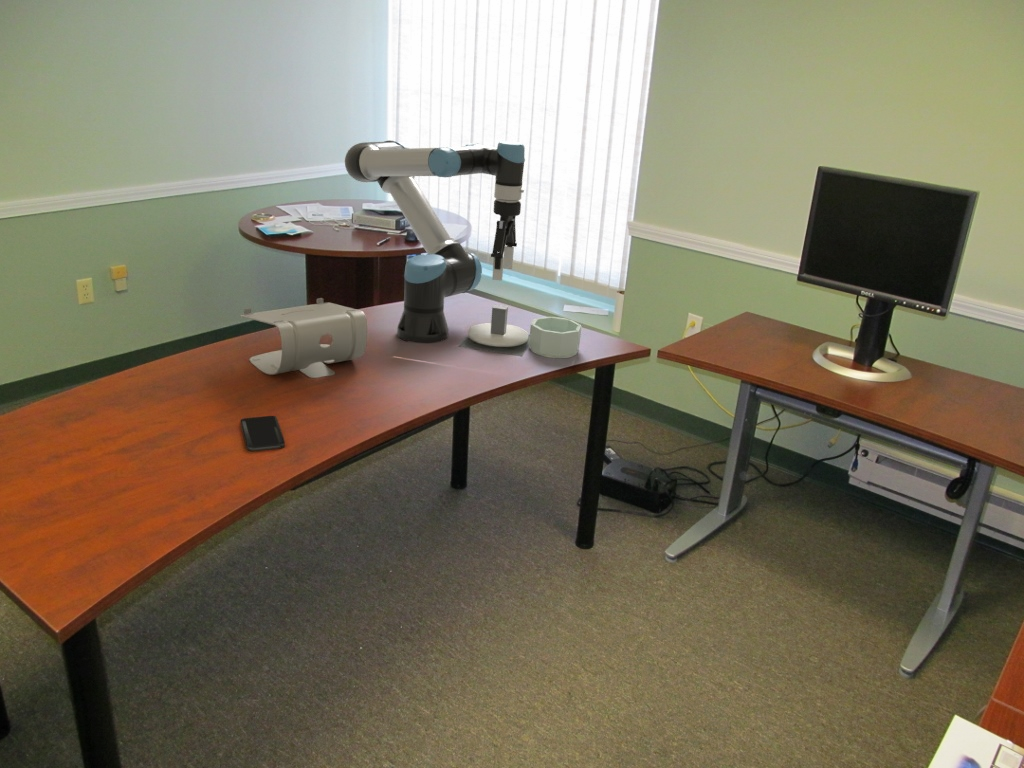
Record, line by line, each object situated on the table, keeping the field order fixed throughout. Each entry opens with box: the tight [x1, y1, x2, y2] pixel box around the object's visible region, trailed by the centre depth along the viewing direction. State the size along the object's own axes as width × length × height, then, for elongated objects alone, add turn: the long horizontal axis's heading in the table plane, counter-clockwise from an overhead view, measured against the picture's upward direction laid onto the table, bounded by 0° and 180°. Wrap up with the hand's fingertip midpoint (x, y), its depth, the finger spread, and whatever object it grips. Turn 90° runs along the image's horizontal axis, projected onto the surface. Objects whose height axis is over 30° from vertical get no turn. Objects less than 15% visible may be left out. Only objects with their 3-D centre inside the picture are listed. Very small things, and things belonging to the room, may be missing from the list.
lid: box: [467, 304, 530, 347], centre depth 241 cm, size 18×18×10 cm
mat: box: [457, 334, 530, 357], centre depth 243 cm, size 19×19×1 cm
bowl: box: [528, 316, 582, 359], centre depth 239 cm, size 14×14×8 cm
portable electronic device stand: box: [239, 297, 368, 380], centre depth 214 cm, size 26×24×16 cm
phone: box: [240, 415, 286, 453], centre depth 178 cm, size 8×1×15 cm
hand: (502, 274), depth 236 cm, fingers open, 13 cm apart
